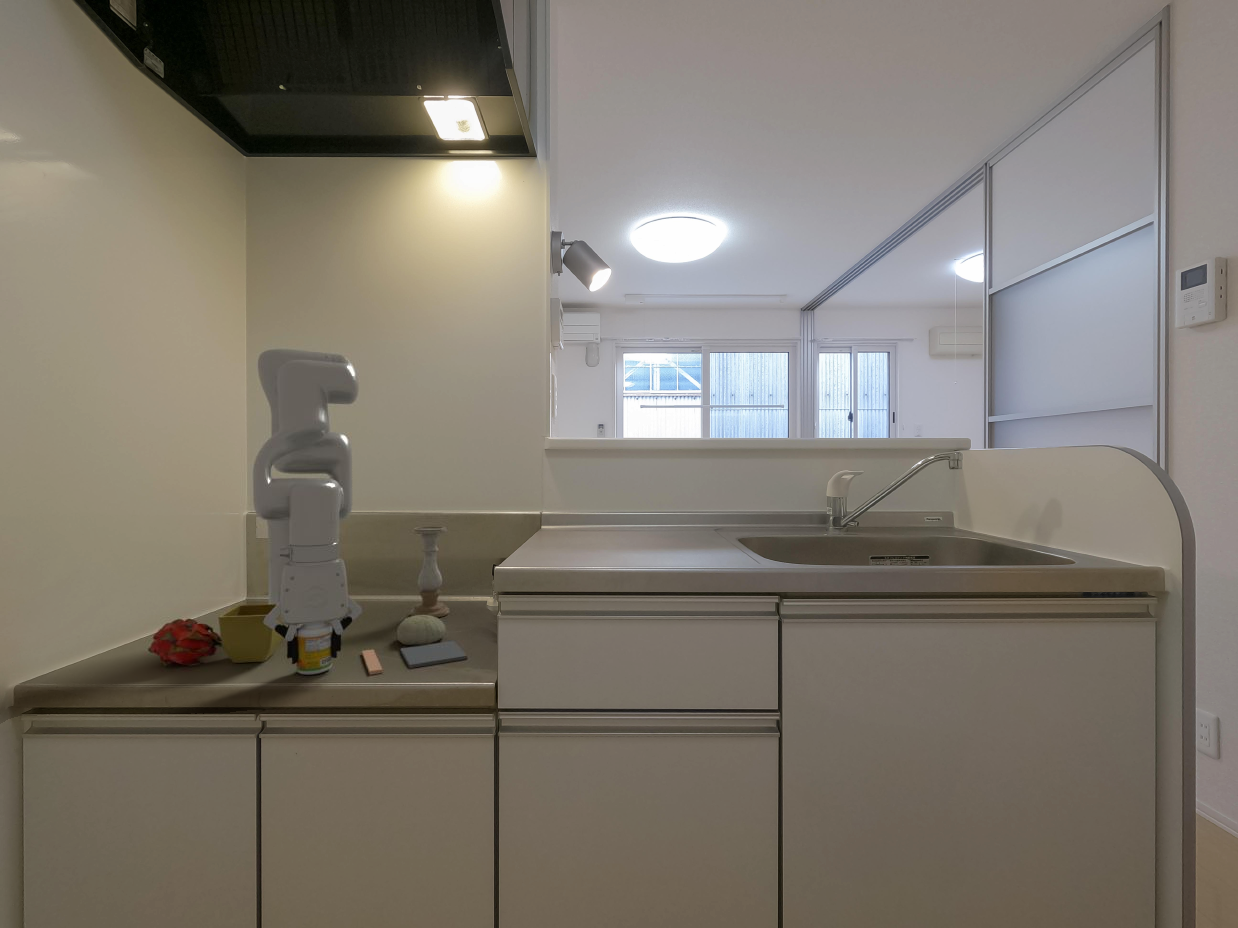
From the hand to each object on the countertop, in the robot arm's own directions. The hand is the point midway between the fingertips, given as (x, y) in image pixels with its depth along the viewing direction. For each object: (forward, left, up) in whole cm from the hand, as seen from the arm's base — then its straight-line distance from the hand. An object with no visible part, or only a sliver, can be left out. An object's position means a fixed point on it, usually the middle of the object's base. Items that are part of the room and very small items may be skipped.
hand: (314, 657), depth 100 cm
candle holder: (-28, +25, -2) cm, 38 cm away
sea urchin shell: (-9, +19, -3) cm, 21 cm away
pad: (+2, +20, -2) cm, 20 cm away
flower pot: (-12, -9, -3) cm, 16 cm away
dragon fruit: (-16, -20, -3) cm, 25 cm away
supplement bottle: (0, 0, -2) cm, 2 cm away
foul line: (+1, +9, -2) cm, 9 cm away
